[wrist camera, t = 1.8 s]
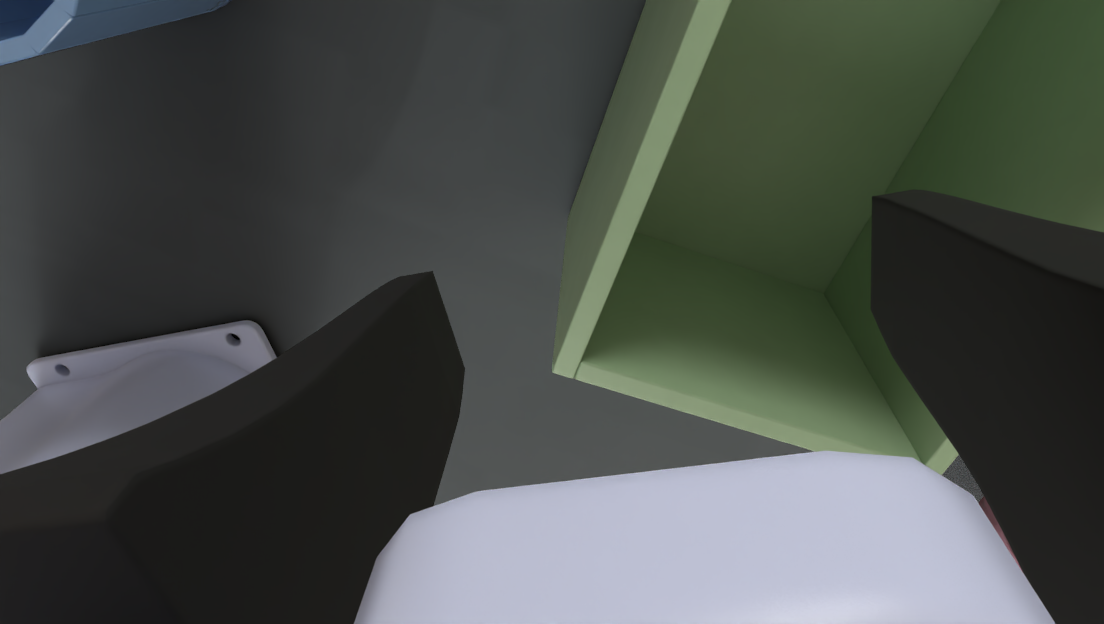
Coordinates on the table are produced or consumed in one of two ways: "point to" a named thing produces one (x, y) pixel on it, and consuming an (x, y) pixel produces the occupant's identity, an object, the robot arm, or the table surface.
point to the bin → (809, 196)
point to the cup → (83, 22)
